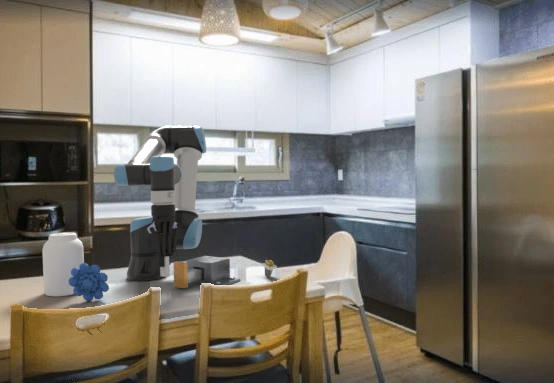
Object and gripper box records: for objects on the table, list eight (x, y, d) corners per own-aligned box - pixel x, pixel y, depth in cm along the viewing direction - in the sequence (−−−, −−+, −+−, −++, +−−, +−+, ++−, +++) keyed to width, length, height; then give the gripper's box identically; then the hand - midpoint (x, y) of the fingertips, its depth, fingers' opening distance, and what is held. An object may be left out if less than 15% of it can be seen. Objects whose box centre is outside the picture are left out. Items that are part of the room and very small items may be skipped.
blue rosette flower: (66, 306, 133) (64, 266, 132) (70, 300, 139) (69, 262, 139) (107, 303, 135) (106, 264, 135) (110, 297, 142) (109, 260, 142)
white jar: (82, 295, 145) (80, 234, 145) (40, 298, 142) (37, 236, 141) (87, 286, 157) (85, 230, 157) (48, 289, 154) (46, 232, 153)
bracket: (176, 281, 163) (176, 259, 162) (199, 275, 173) (199, 254, 172) (218, 287, 152) (218, 264, 151) (240, 280, 162) (239, 258, 161)
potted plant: (278, 272, 176) (278, 256, 176) (292, 282, 159) (292, 264, 159) (249, 275, 173) (248, 258, 173) (260, 285, 156) (259, 267, 155)
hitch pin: (174, 286, 151) (173, 262, 151) (205, 277, 164) (204, 255, 164) (184, 288, 149) (184, 263, 148) (215, 279, 161) (214, 256, 161)
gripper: (155, 205, 136) (157, 281, 137) (185, 202, 147) (187, 273, 148) (139, 204, 141) (141, 278, 141) (170, 202, 151) (171, 271, 152)
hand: (165, 276), depth 145 cm, fingers closed
